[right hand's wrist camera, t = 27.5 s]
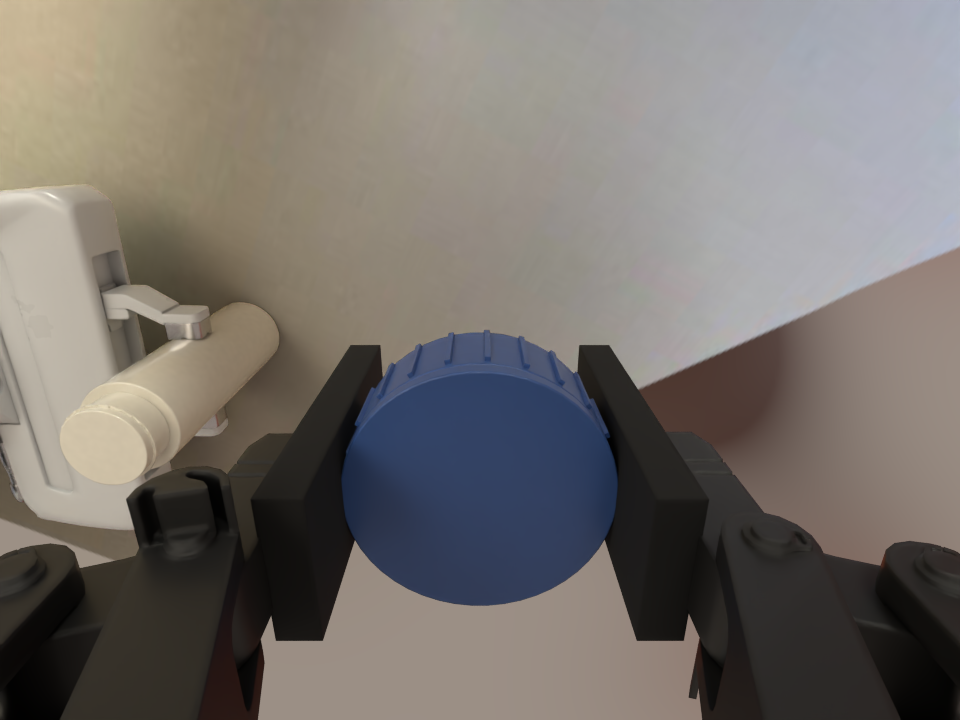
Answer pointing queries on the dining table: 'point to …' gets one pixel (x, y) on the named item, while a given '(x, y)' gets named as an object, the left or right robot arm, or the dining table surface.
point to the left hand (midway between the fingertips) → (214, 371)
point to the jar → (166, 397)
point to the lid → (479, 471)
